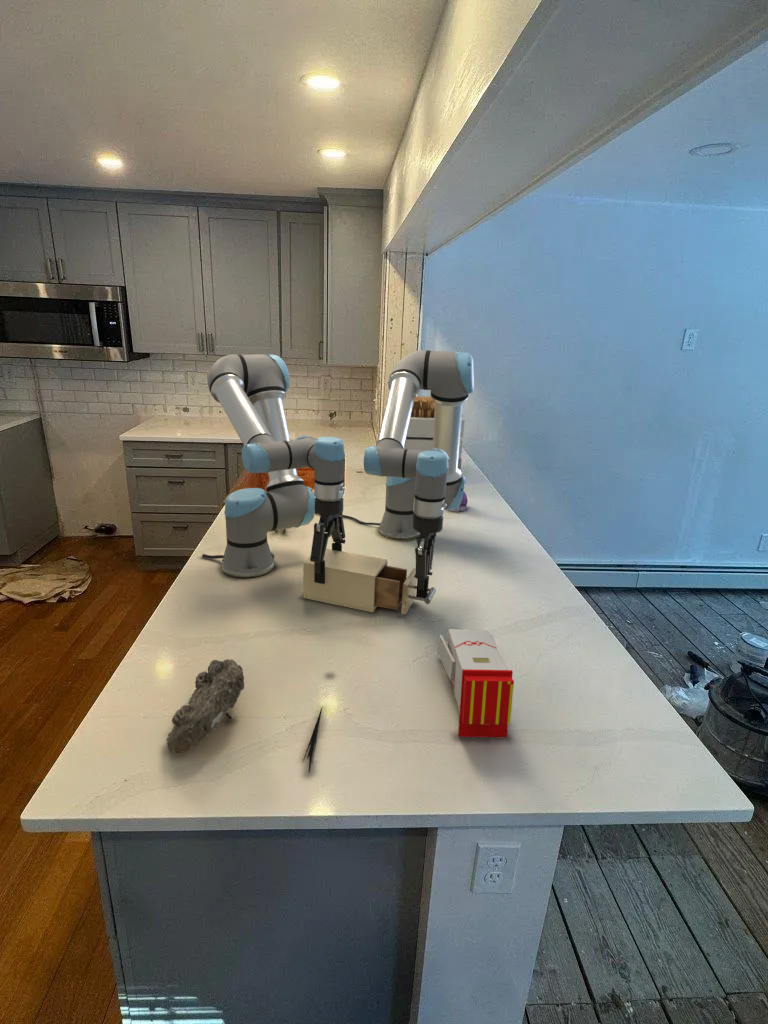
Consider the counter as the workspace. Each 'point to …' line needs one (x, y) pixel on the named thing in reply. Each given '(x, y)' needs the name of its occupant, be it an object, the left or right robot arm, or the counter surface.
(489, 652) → the toy
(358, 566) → the cabinet
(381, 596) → the drawer
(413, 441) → the transformer
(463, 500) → the figurine
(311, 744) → the feather
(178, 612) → the counter surface
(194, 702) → the fossil
